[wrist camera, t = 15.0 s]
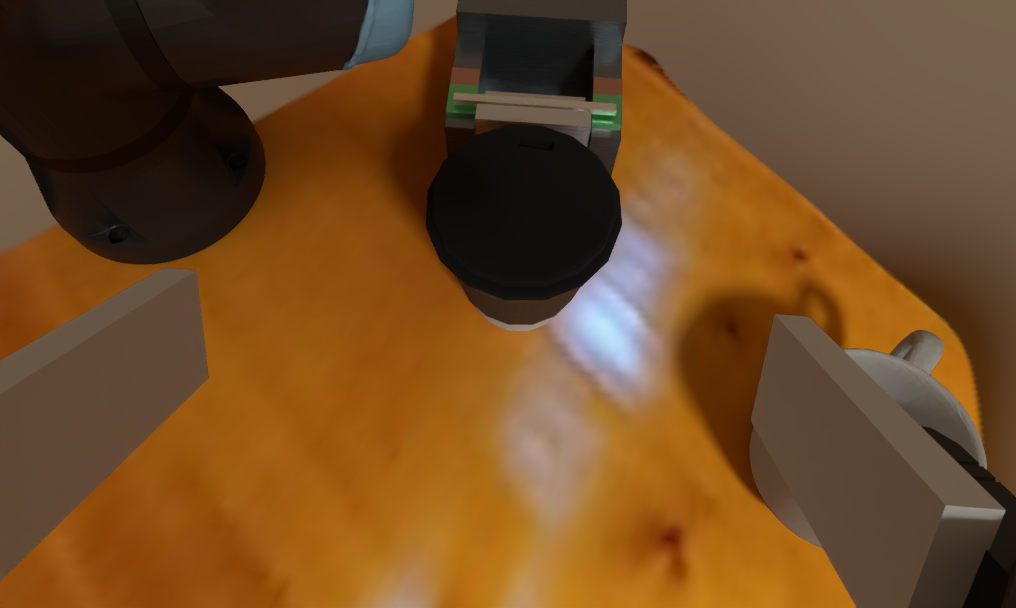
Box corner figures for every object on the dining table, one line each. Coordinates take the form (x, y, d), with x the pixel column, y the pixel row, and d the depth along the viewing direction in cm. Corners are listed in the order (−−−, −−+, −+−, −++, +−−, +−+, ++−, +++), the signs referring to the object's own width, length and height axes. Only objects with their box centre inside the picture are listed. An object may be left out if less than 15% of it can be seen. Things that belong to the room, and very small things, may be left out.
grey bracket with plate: (603, 200, 48) (621, 128, 40) (453, 189, 48) (444, 116, 41) (604, 131, 50) (622, 53, 43) (462, 121, 50) (455, 41, 43)
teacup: (829, 600, 38) (907, 602, 31) (692, 459, 42) (734, 430, 34) (964, 445, 42) (1061, 414, 35) (829, 326, 45) (892, 275, 38)
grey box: (607, 189, 50) (626, 119, 42) (450, 177, 50) (442, 106, 43) (609, 73, 54) (626, -8, 47) (466, 63, 55) (460, -19, 47)
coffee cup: (460, 212, 49) (448, 102, 38) (605, 238, 48) (637, 133, 37) (424, 348, 44) (399, 268, 33) (583, 378, 44) (612, 306, 33)
